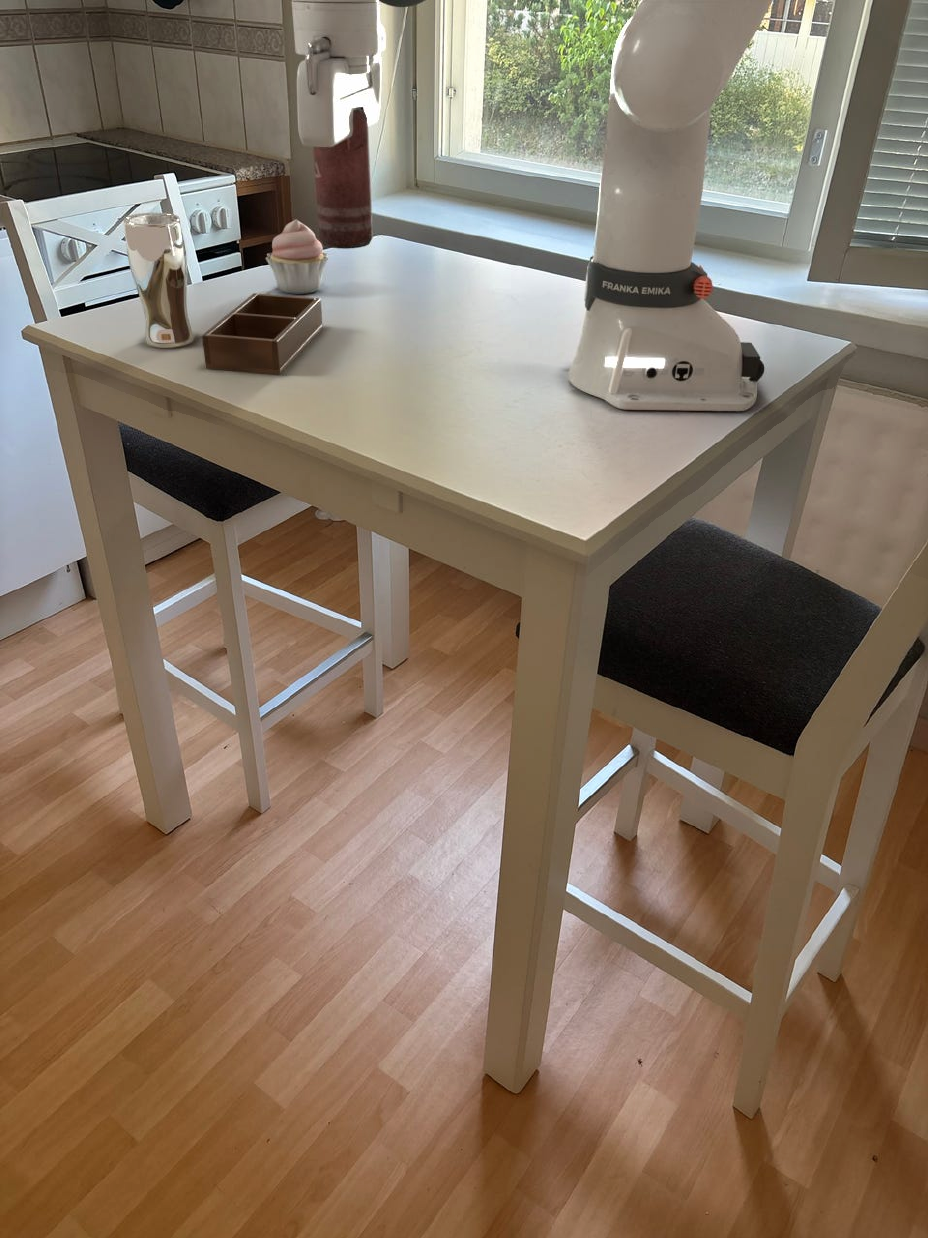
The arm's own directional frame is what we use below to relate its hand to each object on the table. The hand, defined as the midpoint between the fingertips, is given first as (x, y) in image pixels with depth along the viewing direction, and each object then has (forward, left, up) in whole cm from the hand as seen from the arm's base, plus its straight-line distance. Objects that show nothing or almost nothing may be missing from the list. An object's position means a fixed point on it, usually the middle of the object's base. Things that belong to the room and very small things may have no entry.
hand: (344, 179), depth 106 cm
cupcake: (+16, -30, -21) cm, 40 cm away
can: (0, 0, -7) cm, 7 cm away
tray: (+12, -3, -21) cm, 25 cm away
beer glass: (+25, -3, -21) cm, 33 cm away
